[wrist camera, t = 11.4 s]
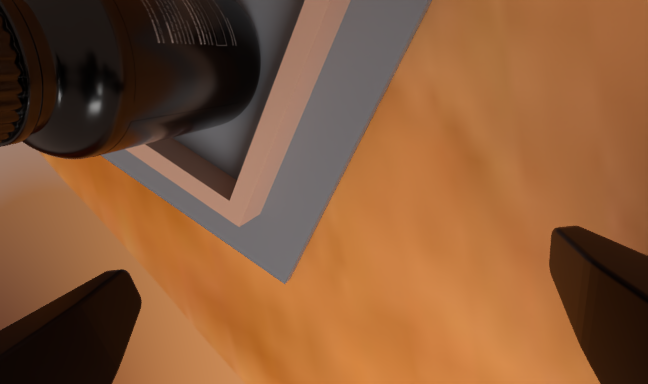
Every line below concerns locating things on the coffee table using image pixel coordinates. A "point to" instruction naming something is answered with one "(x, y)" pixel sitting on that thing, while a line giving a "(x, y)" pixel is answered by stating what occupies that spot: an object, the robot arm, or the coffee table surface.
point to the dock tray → (284, 126)
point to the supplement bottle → (121, 71)
